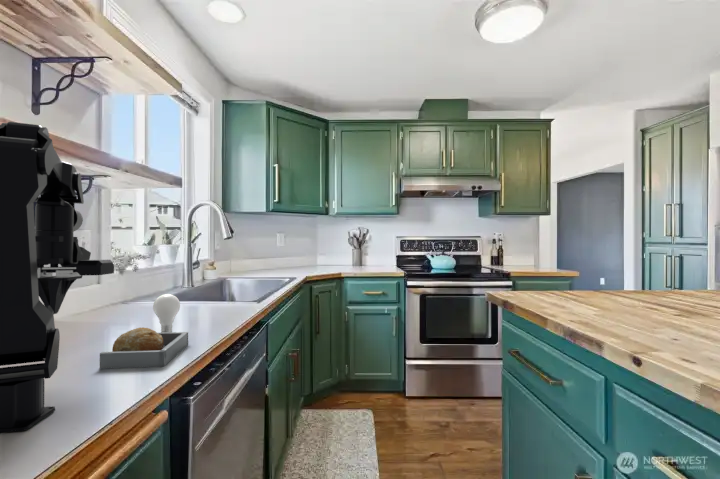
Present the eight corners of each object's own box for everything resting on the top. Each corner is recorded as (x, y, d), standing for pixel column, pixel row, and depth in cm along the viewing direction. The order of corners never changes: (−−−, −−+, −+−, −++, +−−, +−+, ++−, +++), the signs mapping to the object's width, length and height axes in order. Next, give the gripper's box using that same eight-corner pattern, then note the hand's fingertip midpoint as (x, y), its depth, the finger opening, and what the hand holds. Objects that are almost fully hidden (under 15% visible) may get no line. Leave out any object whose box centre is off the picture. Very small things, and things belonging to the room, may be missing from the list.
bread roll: (108, 379, 80) (103, 349, 77) (121, 346, 89) (117, 318, 86) (161, 374, 83) (158, 345, 80) (168, 343, 92) (166, 315, 89)
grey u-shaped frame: (164, 366, 78) (164, 351, 78) (99, 368, 76) (99, 353, 76) (188, 344, 93) (188, 331, 93) (135, 345, 92) (135, 333, 92)
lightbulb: (172, 339, 98) (172, 296, 98) (147, 338, 98) (148, 295, 98) (184, 332, 104) (184, 292, 104) (161, 332, 104) (161, 292, 104)
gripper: (127, 232, 82) (126, 306, 82) (30, 232, 80) (29, 308, 79) (99, 230, 71) (98, 315, 71) (-15, 230, 69) (-16, 318, 68)
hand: (53, 313), depth 73 cm, fingers closed
